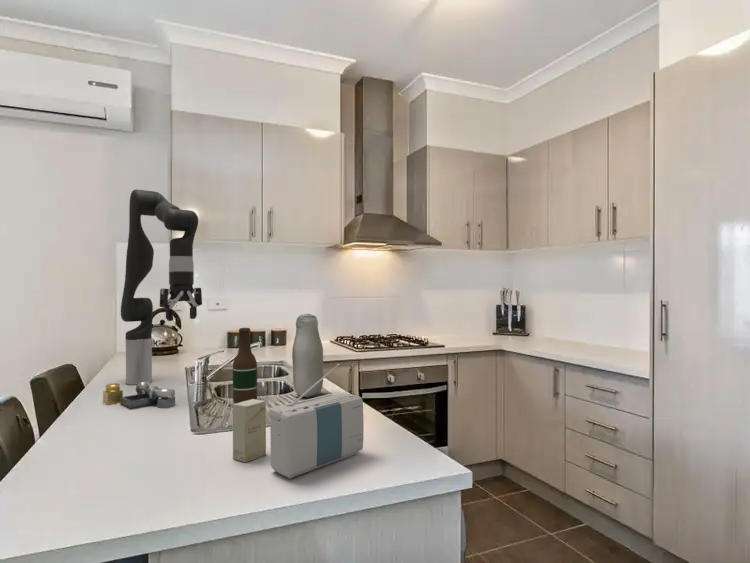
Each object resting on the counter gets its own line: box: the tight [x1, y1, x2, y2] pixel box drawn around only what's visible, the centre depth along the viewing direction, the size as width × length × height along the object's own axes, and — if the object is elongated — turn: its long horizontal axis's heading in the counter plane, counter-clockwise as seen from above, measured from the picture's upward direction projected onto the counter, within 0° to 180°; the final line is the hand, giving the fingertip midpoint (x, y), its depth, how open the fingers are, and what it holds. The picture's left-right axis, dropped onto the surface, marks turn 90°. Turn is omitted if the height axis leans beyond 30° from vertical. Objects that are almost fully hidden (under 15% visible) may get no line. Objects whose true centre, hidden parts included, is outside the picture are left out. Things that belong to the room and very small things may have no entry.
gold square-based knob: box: [102, 382, 124, 406], centre depth 157 cm, size 4×4×6 cm
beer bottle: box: [232, 327, 258, 404], centre depth 157 cm, size 8×8×24 cm
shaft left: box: [135, 380, 152, 395], centre depth 163 cm, size 7×4×6 cm, turn 16°
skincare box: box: [232, 399, 267, 463], centre depth 107 cm, size 6×4×12 cm
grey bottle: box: [291, 313, 324, 398], centre depth 163 cm, size 10×10×28 cm
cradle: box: [119, 393, 160, 411], centre depth 154 cm, size 9×9×2 cm
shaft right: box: [149, 385, 176, 409], centre depth 152 cm, size 7×4×6 cm, turn 76°
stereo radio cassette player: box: [268, 363, 365, 480], centre depth 103 cm, size 21×8×20 cm, turn 137°
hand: (181, 319), depth 158 cm, fingers open, 8 cm apart
